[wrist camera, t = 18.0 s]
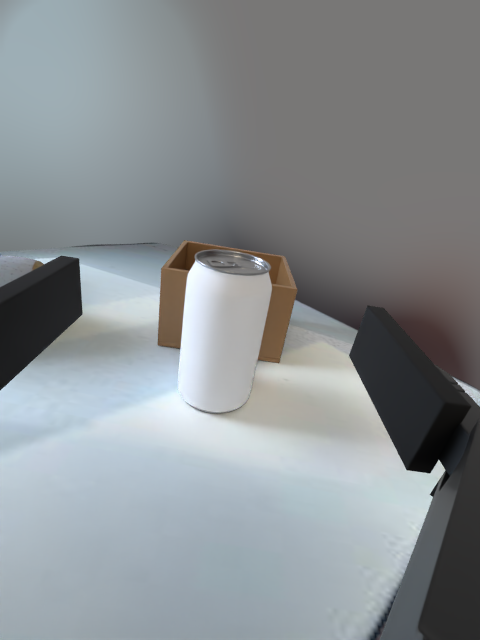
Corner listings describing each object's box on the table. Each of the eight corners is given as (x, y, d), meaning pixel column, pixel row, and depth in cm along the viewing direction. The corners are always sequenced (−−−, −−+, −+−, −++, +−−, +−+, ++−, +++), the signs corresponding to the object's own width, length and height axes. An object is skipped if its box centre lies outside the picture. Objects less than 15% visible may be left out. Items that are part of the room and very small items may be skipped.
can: (260, 411, 28) (292, 276, 22) (184, 421, 25) (200, 274, 20) (236, 366, 33) (256, 250, 28) (171, 371, 30) (180, 245, 25)
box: (279, 363, 35) (297, 289, 31) (157, 345, 34) (161, 267, 30) (272, 315, 46) (285, 256, 42) (179, 301, 45) (184, 240, 41)
